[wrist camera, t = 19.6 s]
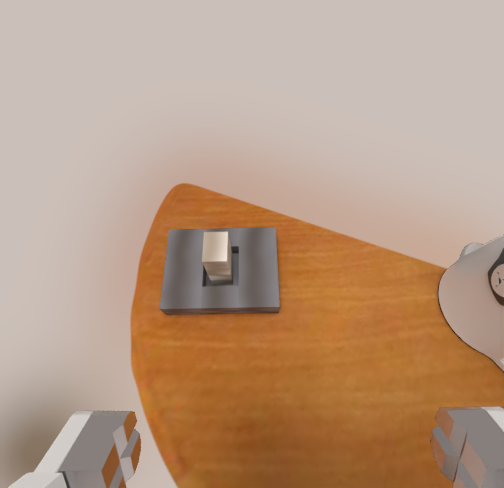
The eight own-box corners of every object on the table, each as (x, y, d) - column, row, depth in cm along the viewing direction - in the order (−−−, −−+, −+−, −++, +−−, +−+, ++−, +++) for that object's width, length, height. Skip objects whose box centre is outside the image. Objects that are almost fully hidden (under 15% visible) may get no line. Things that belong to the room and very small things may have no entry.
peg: (233, 259, 46) (227, 231, 38) (233, 284, 45) (227, 261, 37) (213, 259, 46) (203, 232, 38) (212, 285, 45) (201, 261, 37)
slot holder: (274, 237, 49) (275, 227, 46) (278, 312, 44) (279, 306, 41) (175, 240, 49) (169, 229, 46) (166, 314, 44) (159, 309, 41)
